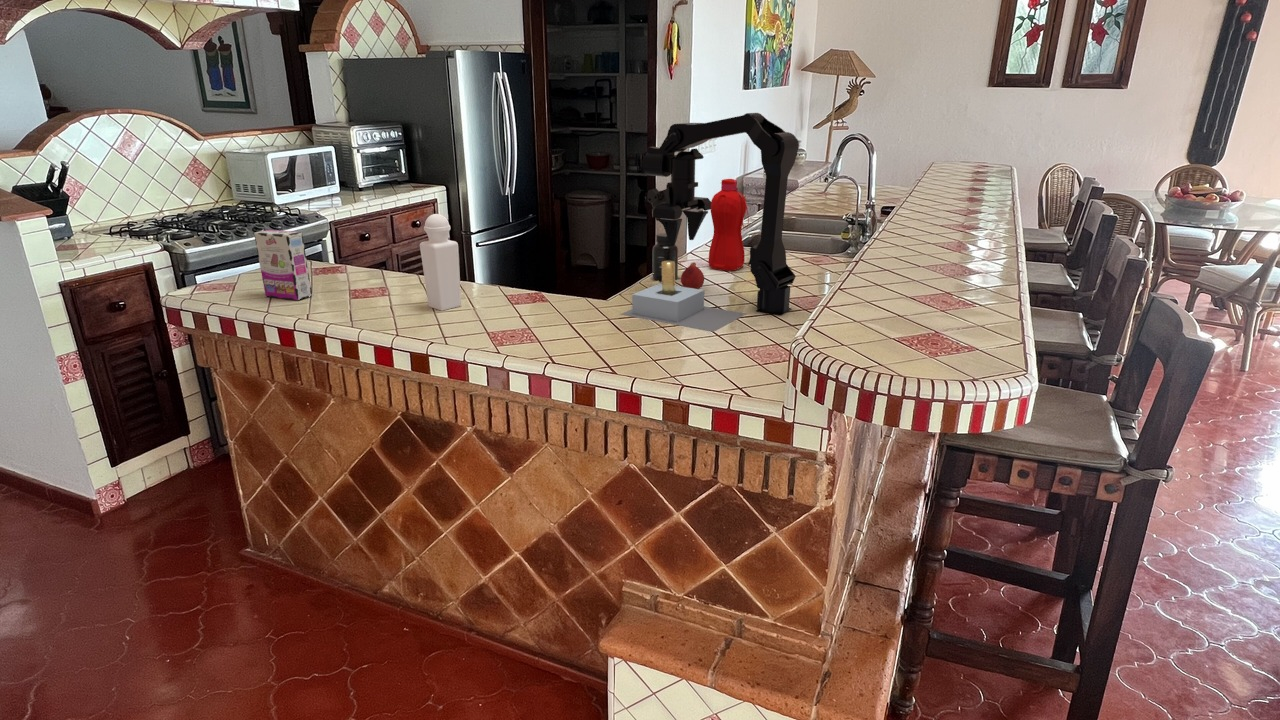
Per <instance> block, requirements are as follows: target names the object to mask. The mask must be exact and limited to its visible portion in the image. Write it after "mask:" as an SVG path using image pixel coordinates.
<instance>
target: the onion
mask: <svg viewBox="0 0 1280 720" xmlns="http://www.w3.org/2000/svg"><path fill="white" fill-rule="evenodd" d="M696 265H697V263H696V262H695V261H694V262H693V261H692V262H691V263H690V265H689V266H687V267H686V268H685V269H684V270H683V271H682V273H681V277H680V284H681V285H682V286H681V287H687V288H693V289H700V290H701V288H702V287H703V285H704V283H705V275H704V273H703V271H702V269H700V268H699V267H697V266H696Z"/></svg>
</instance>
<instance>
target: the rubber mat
mask: <svg viewBox="0 0 1280 720" xmlns="http://www.w3.org/2000/svg"><path fill="white" fill-rule="evenodd" d="M620 315H621V316H627V317H632V318H637V319H643V320H648V321H652V322H653V321H654V322H657V323H663V324H669V325H674V326H678V327H679V326H680V327H684V328H690V329H696V330H701V331H704V332H705V331H706V332H711V333H714V332H716V331H718V330H720V329H723V328H724V327H726V326H727V325H729V324H731V323H733V322H734V321H736V320H738V319H740V318H741V317H743V316H745V315H747V313H746V312H740V311H733V310H729V309H722V308H717V307H716V308H715V307H712V306H711V307H710V306H705V305H704V309H703V310H701V311H699V312H697V313H695V314H693V315H691V316H689V317H686V318H684V319H682V320H680V321H678V322H675V321H670V320H665V319H659V318H654V317H649V316H643V315H638V314H633V313H632V308H631V309H628V310H627V311H625V312H622V313H620Z"/></svg>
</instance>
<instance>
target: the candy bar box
mask: <svg viewBox="0 0 1280 720" xmlns="http://www.w3.org/2000/svg"><path fill="white" fill-rule="evenodd" d="M253 235H254V240H255V245H256V250H257V256H258V261H259V266H260V267H259V268H260V272H261V278H262V285H263V289H264V295H265V297H266V296H270V297H269V298H272V297H278V298H277V299H280V298H284V299H283V300H289V299H292V300H291V301H297V300H299V301H301V300H300V299H302V300H304V299H303V298H305V299H307V298H306V297H309V296H311V295H312V296H313V292H312V286H311V280H310V273H309V266H308V261H307V255H306V248H305V243H304V236H303V232H302V231H293V230H281V229H280V230H277V229H266V230H265V229H264V230H259V231H256V232H253ZM312 296H311V297H312ZM309 298H310V297H309Z"/></svg>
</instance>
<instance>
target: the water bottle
mask: <svg viewBox="0 0 1280 720" xmlns="http://www.w3.org/2000/svg"><path fill="white" fill-rule="evenodd" d="M720 184H721V189H720V190H719V191H718V192H716V193H714V195H713V196H712V199H711V200H710V201H711V209H710V214H711V215H710V216H711V221H712V226H713V235H712V238H711V239H712V240H711V243H710V246H709V247H710V248H709V253H708V260H707V261H708V262H707V263H708V267H709V268H711V269H713V270H719V271H726V272H727V271H728V272H730V271H731V272H732V271H736V270H738V269H741V268H742V267H743V266H744V265H745V261H746V260H745V258H746V257H745V248H744V242H743V235H742V228H743V229H747V228H748V227H749V223H750V222H749V221H750V219H749V216H747V227H745V226H744V219H745V216H746V214H747V215H749V211H748V210H749V209H748V206H747V201H746V197H745V196H744V194H743V193H742V192H740V191H739V187H738V180H737V179H733V178H724V179H721V183H720ZM746 212H747V213H746Z"/></svg>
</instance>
